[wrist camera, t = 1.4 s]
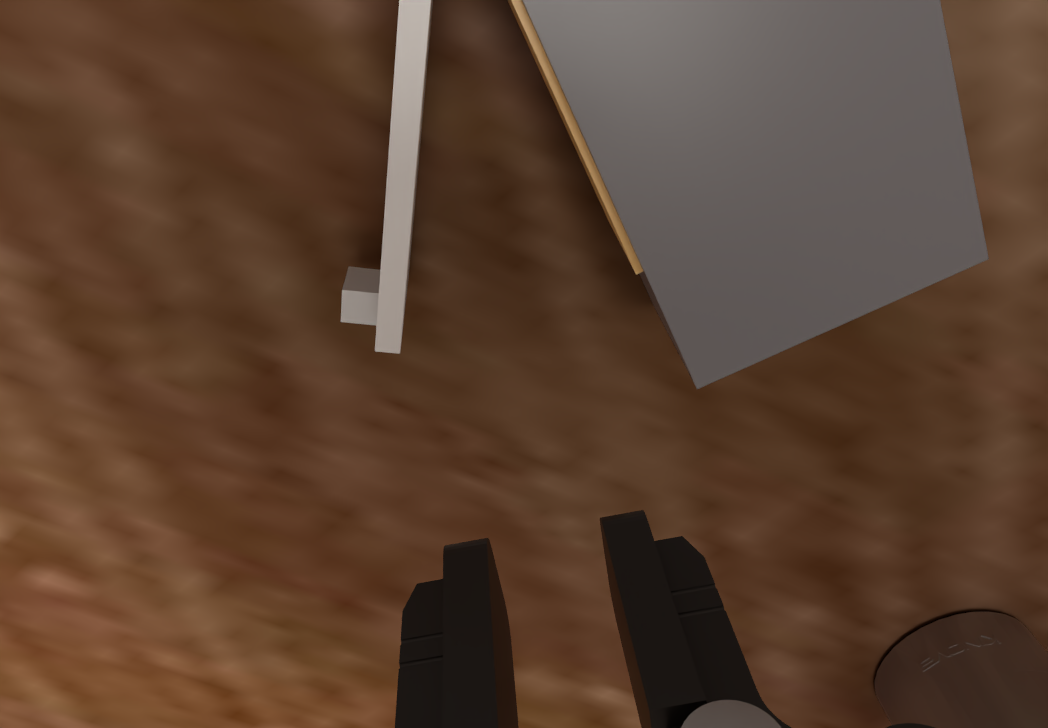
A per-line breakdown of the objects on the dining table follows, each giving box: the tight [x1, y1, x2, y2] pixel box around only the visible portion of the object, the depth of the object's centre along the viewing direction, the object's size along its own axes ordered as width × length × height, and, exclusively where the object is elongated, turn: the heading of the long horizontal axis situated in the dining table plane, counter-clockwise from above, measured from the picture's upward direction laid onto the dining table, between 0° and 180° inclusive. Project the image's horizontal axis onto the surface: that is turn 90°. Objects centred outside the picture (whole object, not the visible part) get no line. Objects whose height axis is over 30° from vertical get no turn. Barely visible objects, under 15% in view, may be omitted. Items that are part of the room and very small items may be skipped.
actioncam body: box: [507, 0, 989, 389], centre depth 23 cm, size 21×10×7 cm, turn 26°
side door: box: [341, 0, 433, 354], centre depth 24 cm, size 14×2×6 cm, turn 171°
